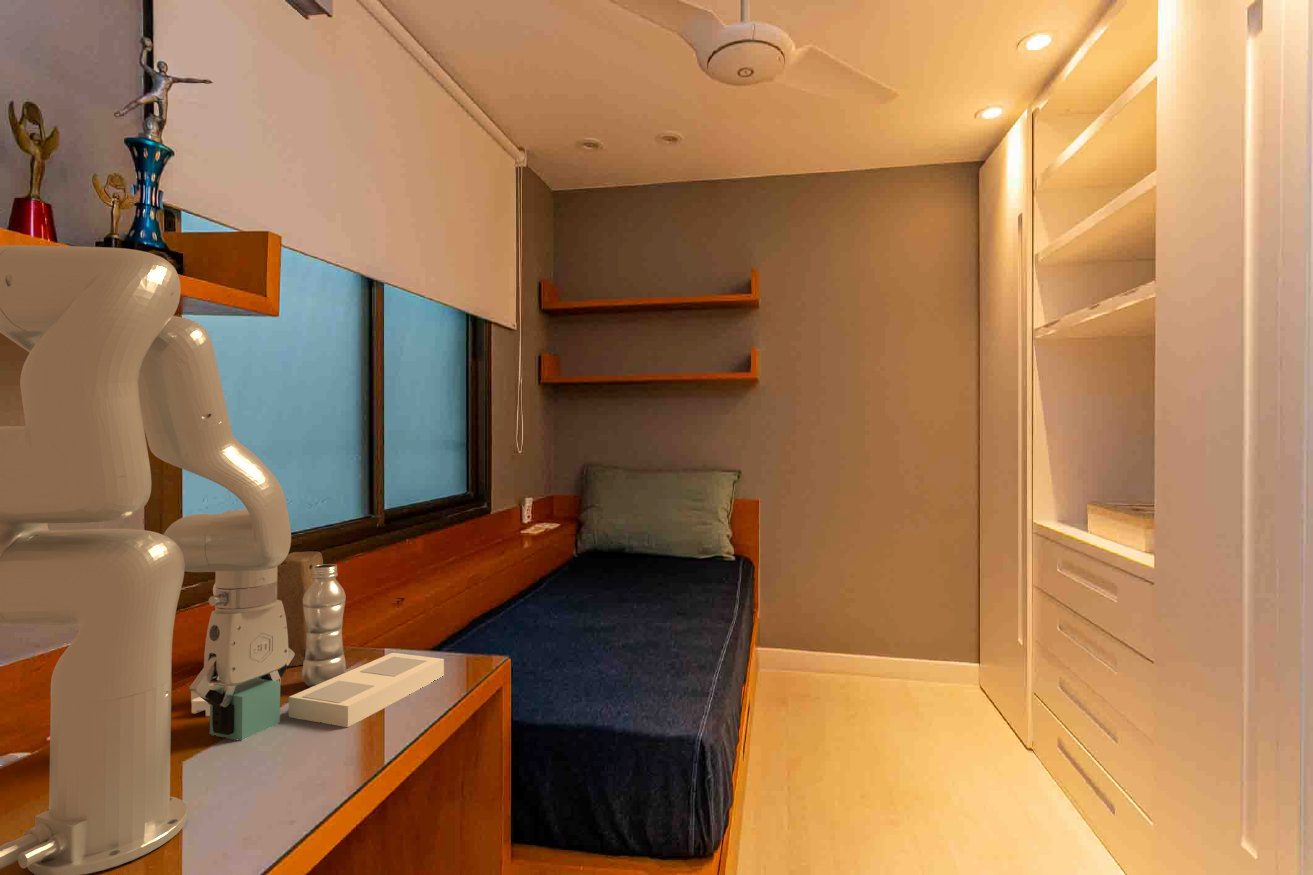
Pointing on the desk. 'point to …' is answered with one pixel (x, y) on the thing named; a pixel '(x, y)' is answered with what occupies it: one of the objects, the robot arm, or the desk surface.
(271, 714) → the cube
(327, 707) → the board
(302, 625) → the block
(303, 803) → the desk surface
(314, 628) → the plastic bottle
